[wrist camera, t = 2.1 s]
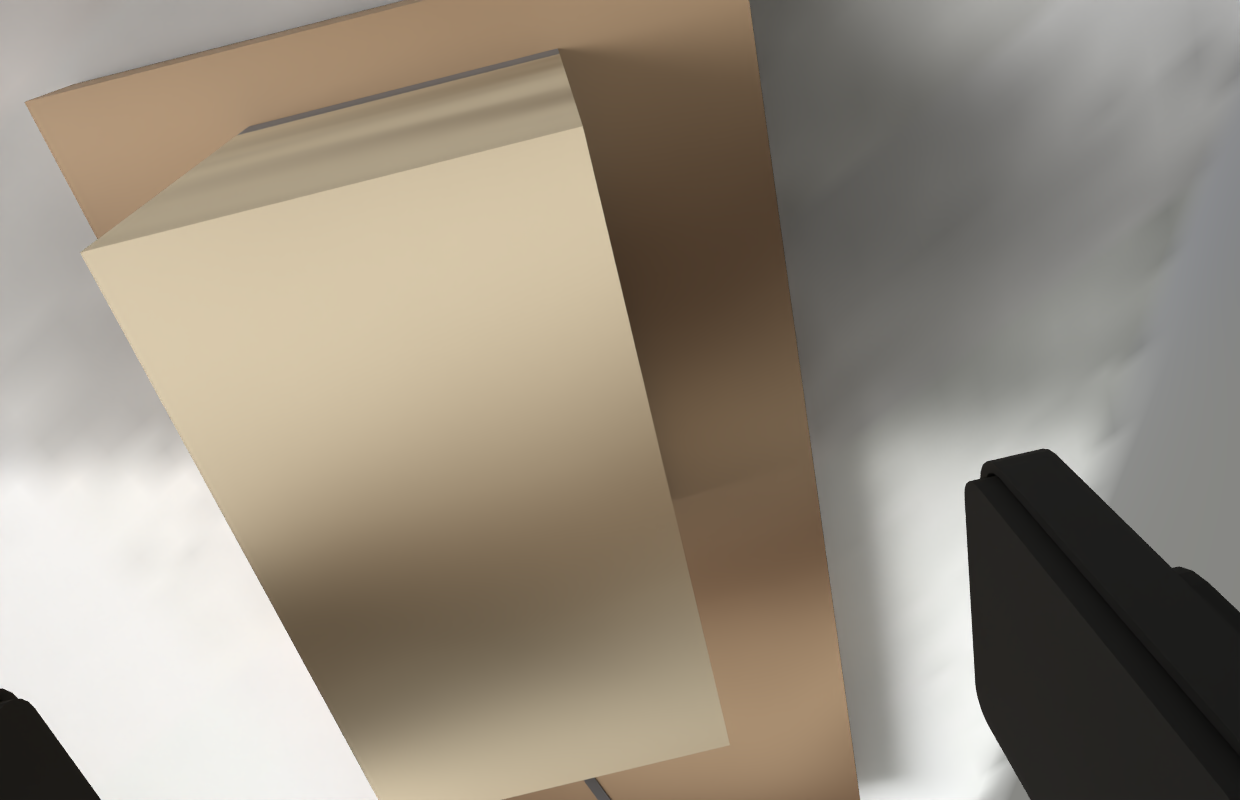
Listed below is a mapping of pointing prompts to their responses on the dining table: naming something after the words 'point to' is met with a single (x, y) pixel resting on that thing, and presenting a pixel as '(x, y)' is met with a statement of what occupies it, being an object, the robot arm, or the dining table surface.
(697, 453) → the board
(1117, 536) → the robot arm
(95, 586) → the dining table surface
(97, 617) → the dining table surface
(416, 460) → the block
